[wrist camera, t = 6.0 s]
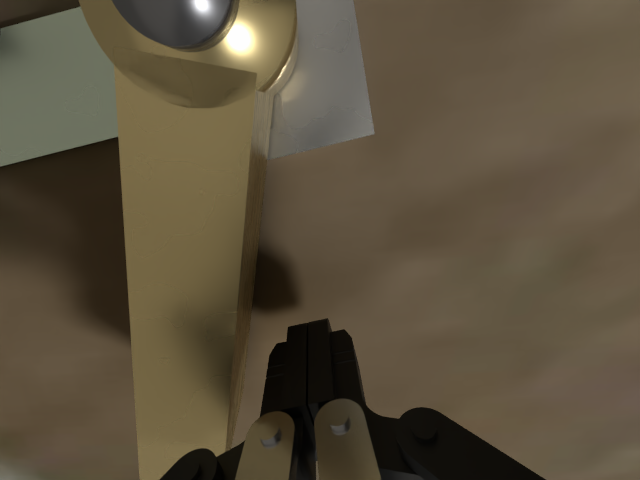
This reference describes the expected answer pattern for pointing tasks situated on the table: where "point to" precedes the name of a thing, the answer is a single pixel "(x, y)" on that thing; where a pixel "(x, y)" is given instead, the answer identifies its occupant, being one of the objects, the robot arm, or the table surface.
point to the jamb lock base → (322, 83)
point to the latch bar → (193, 215)
